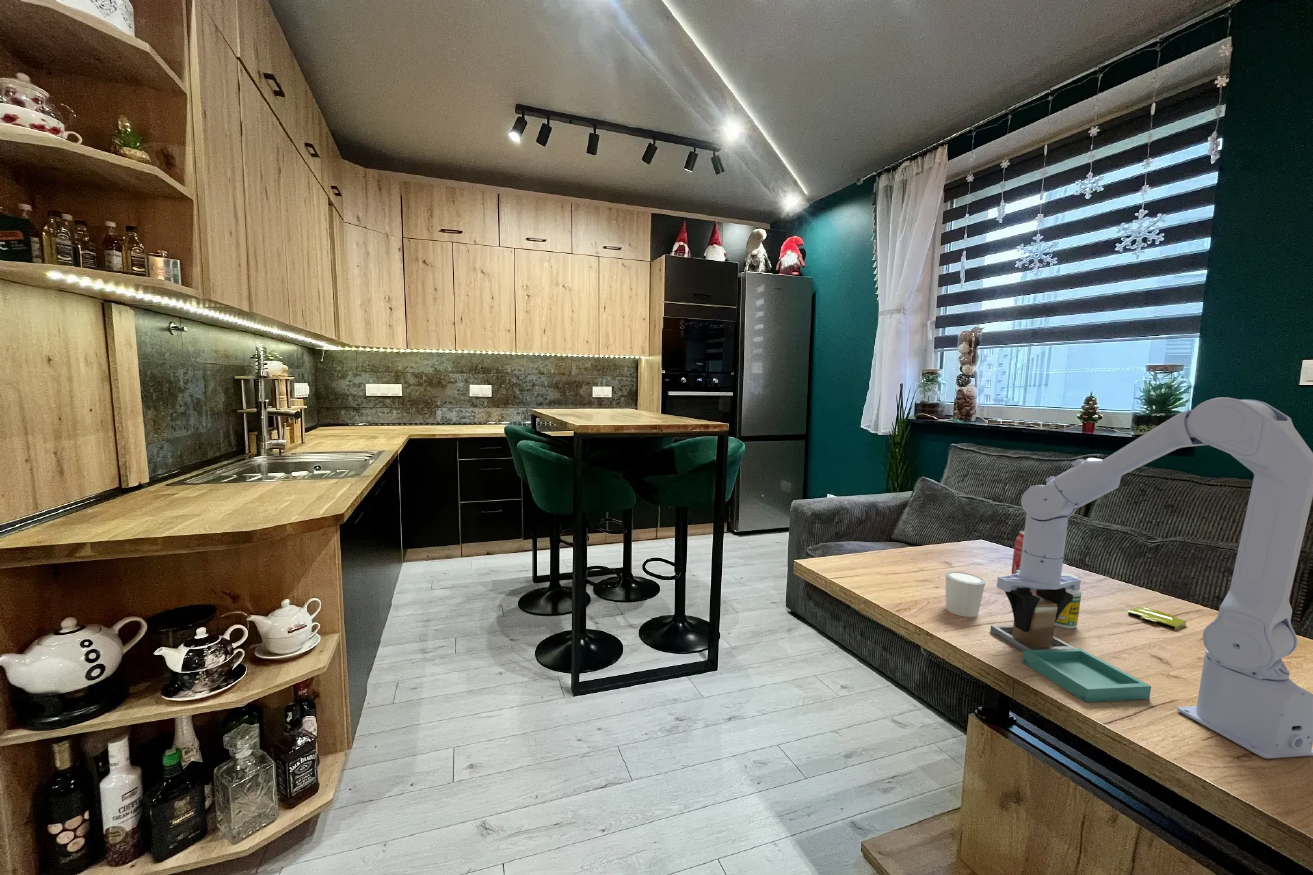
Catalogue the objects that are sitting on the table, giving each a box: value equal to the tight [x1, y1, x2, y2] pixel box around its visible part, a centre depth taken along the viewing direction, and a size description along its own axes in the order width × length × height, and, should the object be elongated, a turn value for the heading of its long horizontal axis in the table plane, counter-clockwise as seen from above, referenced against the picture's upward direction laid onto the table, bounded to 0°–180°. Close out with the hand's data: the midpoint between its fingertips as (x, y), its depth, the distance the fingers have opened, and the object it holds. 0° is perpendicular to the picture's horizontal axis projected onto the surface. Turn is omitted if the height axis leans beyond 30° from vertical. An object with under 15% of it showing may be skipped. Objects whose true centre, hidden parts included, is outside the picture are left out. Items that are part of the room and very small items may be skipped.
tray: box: [1022, 648, 1152, 703], centre depth 78 cm, size 11×11×2 cm
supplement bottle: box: [1054, 571, 1082, 630], centre depth 97 cm, size 5×5×10 cm
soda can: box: [1011, 530, 1024, 575], centre depth 117 cm, size 7×7×12 cm
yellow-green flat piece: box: [1123, 606, 1193, 631], centre depth 101 cm, size 10×9×3 cm
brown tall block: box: [1011, 594, 1057, 647], centre depth 88 cm, size 4×4×8 cm
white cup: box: [945, 571, 986, 618], centre depth 101 cm, size 7×7×7 cm
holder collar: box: [989, 624, 1078, 653], centre depth 89 cm, size 9×9×1 cm
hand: (1033, 628), depth 88 cm, fingers closed on brown tall block, 4 cm apart
